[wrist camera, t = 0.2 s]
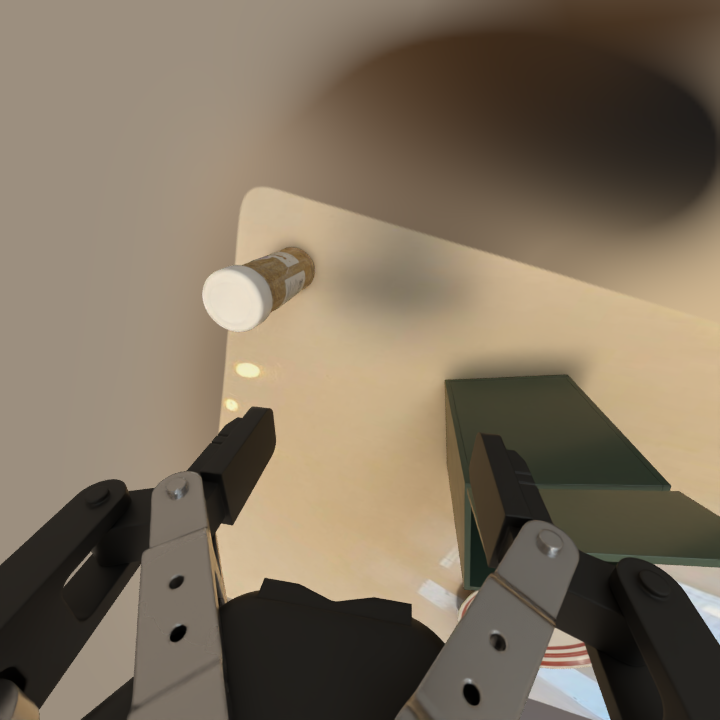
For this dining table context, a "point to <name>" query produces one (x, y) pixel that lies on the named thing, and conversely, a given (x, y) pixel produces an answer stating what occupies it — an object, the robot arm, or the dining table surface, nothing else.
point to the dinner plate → (553, 647)
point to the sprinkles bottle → (256, 288)
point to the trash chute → (535, 447)
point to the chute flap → (634, 525)
